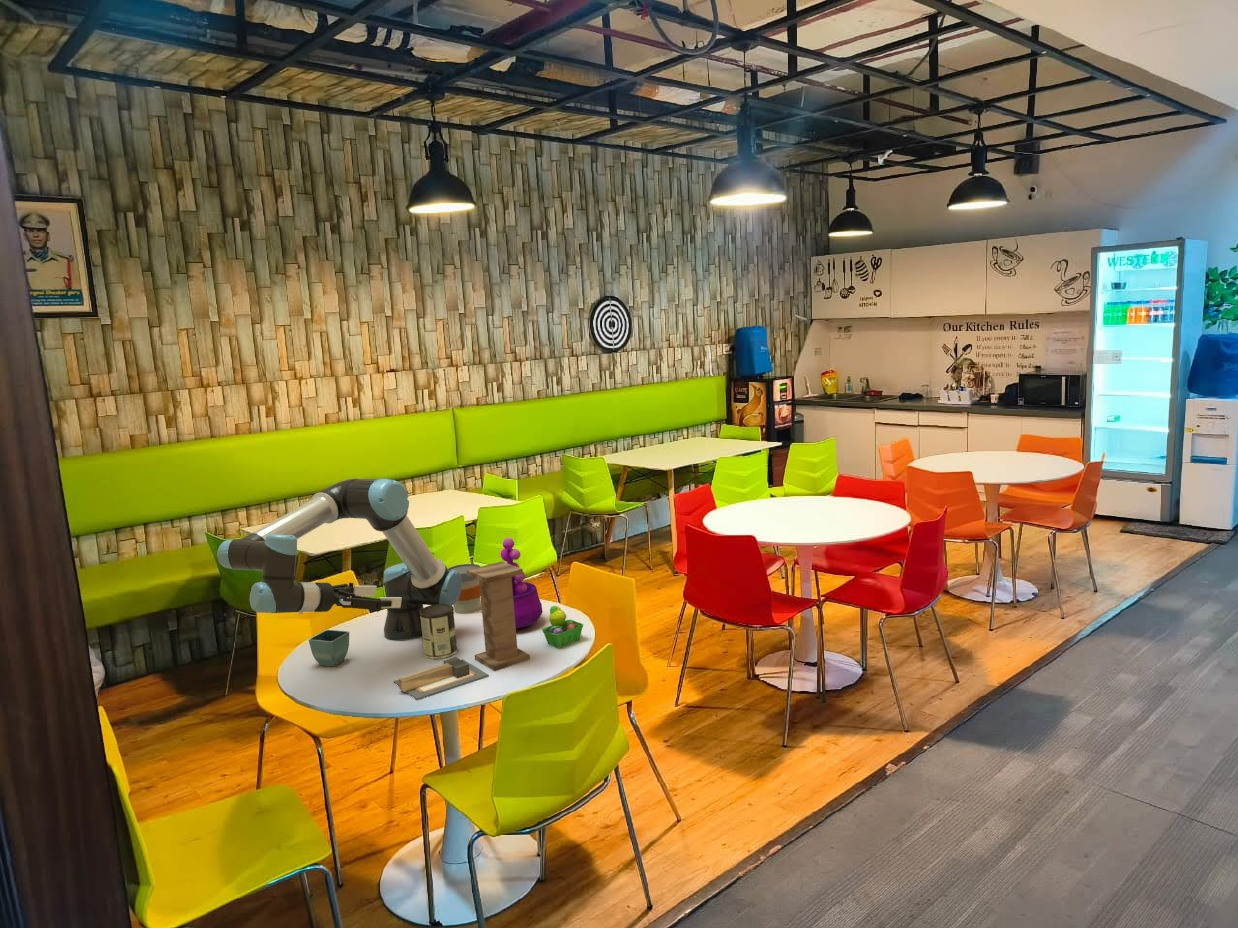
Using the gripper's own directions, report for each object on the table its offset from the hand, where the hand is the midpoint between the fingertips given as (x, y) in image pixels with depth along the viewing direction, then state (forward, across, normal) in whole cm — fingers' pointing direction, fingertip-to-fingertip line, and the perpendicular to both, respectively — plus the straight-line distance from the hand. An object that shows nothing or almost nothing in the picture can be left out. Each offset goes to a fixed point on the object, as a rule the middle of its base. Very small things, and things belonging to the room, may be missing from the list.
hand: (387, 596), depth 232 cm
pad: (+18, +6, -23) cm, 30 cm away
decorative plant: (+57, -12, -13) cm, 60 cm away
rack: (+37, +8, -18) cm, 42 cm away
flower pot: (+4, -32, -29) cm, 43 cm away
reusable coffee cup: (+57, -40, -15) cm, 71 cm away
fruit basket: (+57, +12, -12) cm, 60 cm away
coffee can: (+29, -12, -21) cm, 38 cm away
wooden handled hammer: (+15, +6, -23) cm, 28 cm away
